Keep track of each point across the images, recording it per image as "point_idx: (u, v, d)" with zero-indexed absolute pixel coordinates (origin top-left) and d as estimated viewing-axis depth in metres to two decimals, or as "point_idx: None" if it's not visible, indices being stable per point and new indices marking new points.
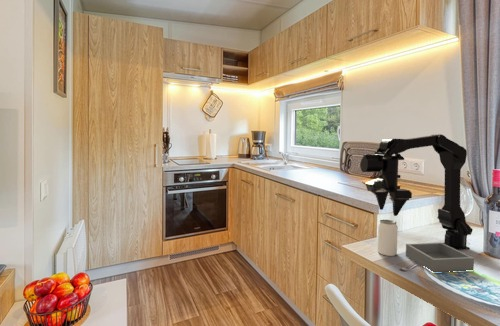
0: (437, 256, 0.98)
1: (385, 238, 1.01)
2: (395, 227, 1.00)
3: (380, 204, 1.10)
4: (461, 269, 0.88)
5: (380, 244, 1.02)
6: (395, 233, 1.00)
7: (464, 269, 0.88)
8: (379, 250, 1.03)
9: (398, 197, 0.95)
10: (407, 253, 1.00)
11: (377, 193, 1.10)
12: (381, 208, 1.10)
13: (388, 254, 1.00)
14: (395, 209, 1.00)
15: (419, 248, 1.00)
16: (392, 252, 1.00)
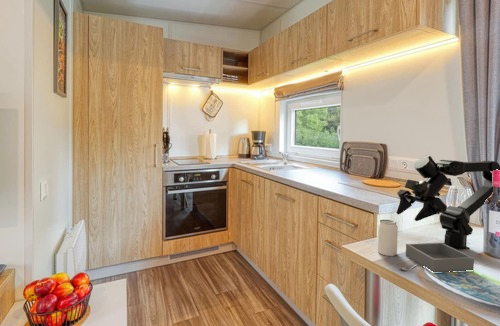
0: (437, 256, 0.98)
1: (385, 238, 1.01)
2: (395, 227, 1.00)
3: (400, 209, 1.08)
4: (461, 269, 0.88)
5: (380, 244, 1.02)
6: (395, 233, 1.00)
7: (464, 269, 0.88)
8: (379, 250, 1.03)
9: (436, 203, 0.95)
10: (407, 253, 1.00)
11: (404, 198, 1.09)
12: (398, 212, 1.08)
13: (388, 254, 1.00)
14: (421, 214, 0.99)
15: (419, 248, 1.00)
16: (392, 252, 1.00)
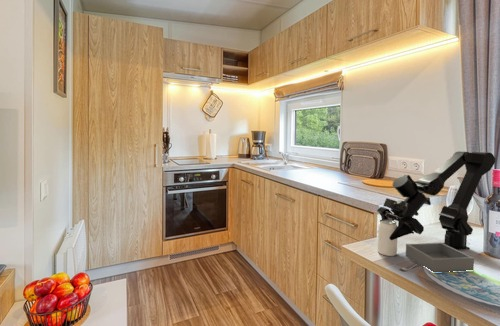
0: (437, 256, 0.98)
1: (385, 238, 1.01)
2: (395, 227, 1.00)
3: None
4: (461, 269, 0.88)
5: (380, 244, 1.02)
6: None
7: (464, 269, 0.88)
8: (379, 250, 1.03)
9: (413, 224, 0.94)
10: (407, 253, 1.00)
11: (385, 217, 1.07)
12: None
13: (388, 254, 1.00)
14: (395, 233, 0.99)
15: (419, 248, 1.00)
16: (392, 252, 1.00)
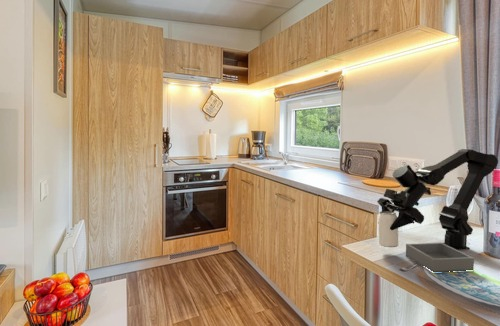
0: (437, 256, 0.98)
1: (385, 229, 1.00)
2: (395, 217, 1.00)
3: None
4: (461, 269, 0.88)
5: (381, 236, 1.02)
6: None
7: (464, 269, 0.88)
8: (380, 242, 1.02)
9: (413, 213, 0.94)
10: (407, 253, 1.00)
11: (386, 208, 1.06)
12: None
13: (390, 244, 1.00)
14: (396, 223, 0.98)
15: (419, 248, 1.00)
16: (393, 242, 0.99)
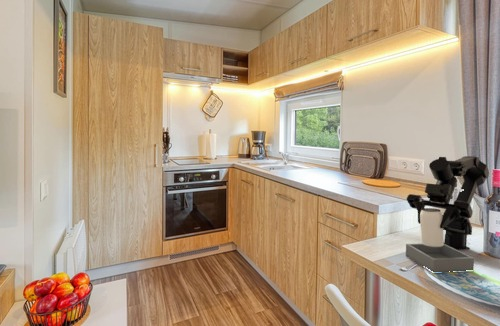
0: (437, 256, 0.98)
1: (435, 228, 0.91)
2: (441, 214, 0.93)
3: None
4: (461, 269, 0.88)
5: (429, 236, 0.92)
6: None
7: (464, 269, 0.88)
8: (428, 243, 0.93)
9: (468, 208, 0.88)
10: (407, 253, 1.00)
11: (422, 205, 0.98)
12: (419, 221, 0.96)
13: (440, 244, 0.91)
14: (446, 220, 0.91)
15: (419, 248, 1.00)
16: (442, 241, 0.92)
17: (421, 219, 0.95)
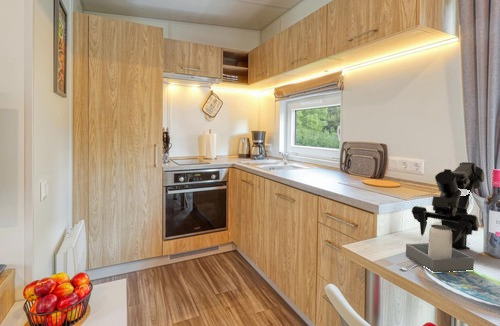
0: None
1: (445, 246, 0.90)
2: (451, 232, 0.92)
3: (423, 229, 0.97)
4: (461, 269, 0.88)
5: (439, 254, 0.91)
6: None
7: (464, 269, 0.88)
8: None
9: (476, 221, 0.88)
10: (407, 253, 1.00)
11: (424, 217, 0.99)
12: (422, 233, 0.96)
13: None
14: (458, 235, 0.89)
15: (419, 248, 1.00)
16: None
17: (431, 236, 0.93)
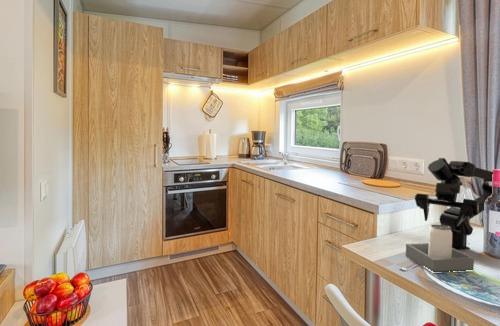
0: None
1: (445, 246, 0.90)
2: (451, 232, 0.92)
3: (426, 214, 1.01)
4: (461, 269, 0.88)
5: (439, 254, 0.91)
6: None
7: (464, 269, 0.88)
8: None
9: (477, 206, 0.93)
10: (407, 253, 1.00)
11: (427, 203, 1.03)
12: (426, 219, 1.01)
13: None
14: (461, 219, 0.94)
15: (419, 248, 1.00)
16: None
17: (431, 236, 0.93)
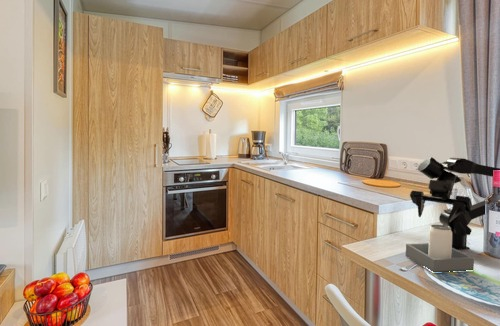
0: None
1: (445, 246, 0.90)
2: (451, 232, 0.92)
3: (420, 211, 1.04)
4: (461, 269, 0.88)
5: (439, 254, 0.91)
6: None
7: (464, 269, 0.88)
8: None
9: (469, 202, 0.95)
10: (407, 253, 1.00)
11: (421, 200, 1.05)
12: (420, 215, 1.03)
13: None
14: (453, 215, 0.96)
15: (419, 248, 1.00)
16: None
17: (431, 236, 0.93)
